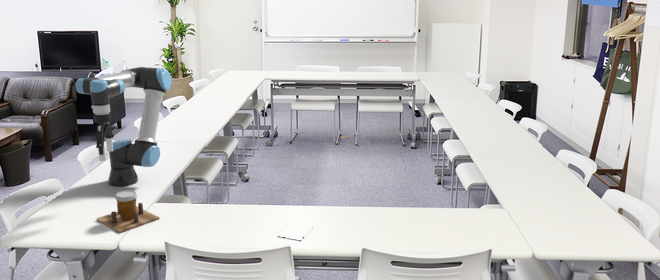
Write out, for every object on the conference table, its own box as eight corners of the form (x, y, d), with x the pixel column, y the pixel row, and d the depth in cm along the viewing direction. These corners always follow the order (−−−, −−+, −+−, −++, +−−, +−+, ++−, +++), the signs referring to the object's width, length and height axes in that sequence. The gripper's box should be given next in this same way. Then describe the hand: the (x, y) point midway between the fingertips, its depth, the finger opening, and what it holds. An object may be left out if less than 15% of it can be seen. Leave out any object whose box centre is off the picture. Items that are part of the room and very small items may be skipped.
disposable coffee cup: (130, 211, 261) (128, 188, 257) (143, 216, 256) (141, 193, 252) (112, 218, 253) (110, 194, 250) (125, 223, 248) (123, 199, 245)
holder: (135, 207, 268) (134, 196, 266) (159, 219, 256) (158, 207, 254) (96, 220, 253) (95, 208, 251) (120, 233, 241) (118, 220, 239)
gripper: (100, 106, 267) (105, 147, 273) (85, 120, 243) (91, 165, 250) (116, 106, 268) (120, 147, 274) (103, 120, 244) (108, 164, 251)
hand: (106, 155), depth 262 cm, fingers open, 13 cm apart
